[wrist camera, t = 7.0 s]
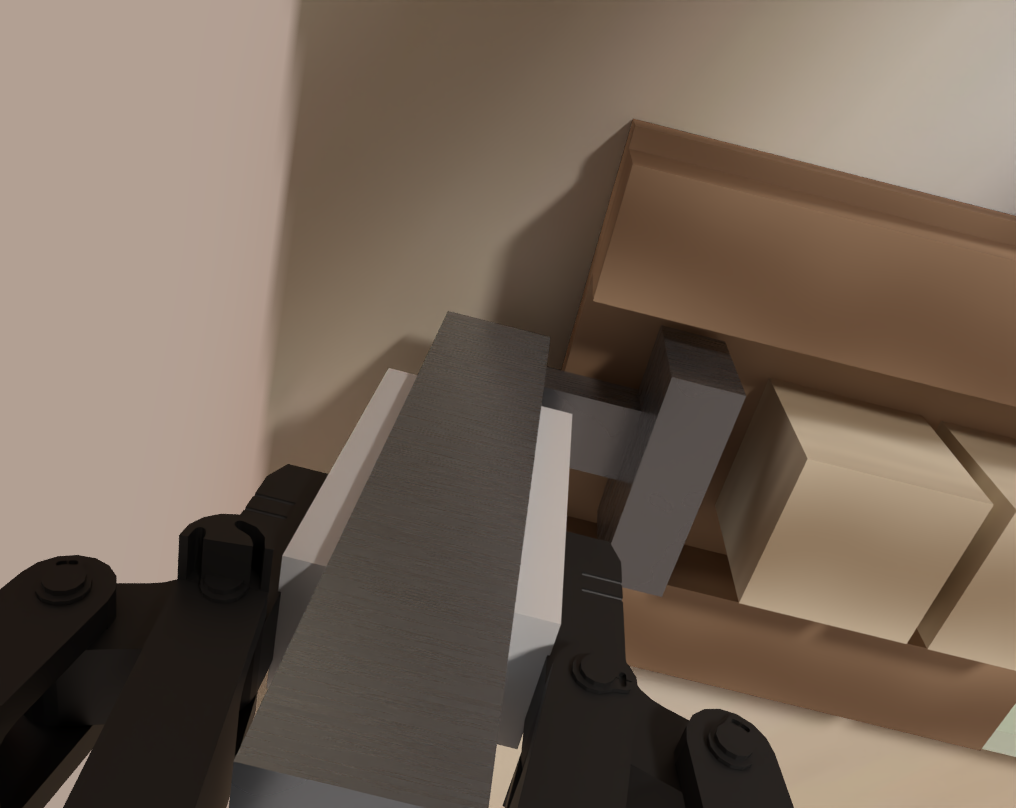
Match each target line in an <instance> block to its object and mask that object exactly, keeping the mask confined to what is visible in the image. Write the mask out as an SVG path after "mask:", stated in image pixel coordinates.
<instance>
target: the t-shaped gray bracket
mask: <svg viewBox="0 0 1016 808" xmlns="http://www.w3.org/2000/svg"><path fill="white" fill-rule="evenodd" d="M549 344H550V337H549V336H545V335H541V334H537V333H533V332H529V331H525V330H521V329H517V328H513V327H509V326H505V325H501V324H497V323H493V322H489V321H485V320H481V319H477V318H473V317H469V316H465V315H462V314H458V313H454V312H450V311H448V312H447V314H446V317H445V319H444V321H443V323H442V325H441V327H440V329H439V331H438V333H437V335H436V337H435V340H434V342H433V344H432V346H431V348H430V350H429V352H428V354H427V356H426V358H425V361H424V363H423V365H422V367H421V369H420V371H419V373H418V375H417V377H416V379H415V382H414V384H413V386H412V388H411V390H410V392H409V394H408V396H407V398H406V400H405V403H404V405H403V407H402V409H401V411H400V413H399V415H398V417H397V419H396V421H395V423H394V426H393V428H392V430H391V432H390V434H389V436H388V438H387V440H386V442H385V444H384V447H383V449H382V451H381V453H380V455H379V457H378V459H377V461H376V463H375V465H374V468H373V470H372V472H371V474H370V476H369V478H368V480H367V482H366V484H365V486H364V489H363V491H362V493H361V495H360V497H359V499H358V501H357V503H356V505H355V507H354V509H353V512H352V514H351V516H350V518H349V520H348V522H347V524H346V526H345V528H344V530H343V533H342V535H341V537H340V539H339V541H338V543H337V545H336V547H335V549H334V551H333V554H332V556H331V558H330V560H329V562H328V564H327V566H326V568H325V570H324V572H323V575H322V577H321V579H320V581H319V583H318V585H317V587H316V589H315V591H314V593H313V595H312V598H311V600H310V602H309V604H308V606H307V608H306V610H305V612H304V614H303V616H302V619H301V621H300V623H299V625H298V627H297V629H296V631H295V633H294V635H293V637H292V640H291V642H290V644H289V646H288V648H287V650H286V652H285V654H284V656H283V658H282V661H281V663H280V665H279V667H278V669H277V671H276V673H275V675H274V677H273V679H272V682H271V684H270V686H269V688H268V690H267V692H266V694H265V696H264V698H263V700H262V702H261V705H260V707H259V709H258V711H257V713H256V715H255V717H254V719H253V721H252V723H251V726H250V728H249V730H248V732H247V734H246V736H245V738H244V740H243V742H242V744H241V747H240V749H239V751H238V753H237V755H236V757H235V759H234V761H233V771H232V781H231V791H230V801H229V808H488V807H489V800H490V792H491V785H492V777H493V769H494V762H495V754H496V747H497V739H498V731H499V724H500V716H501V709H502V701H503V693H504V686H505V678H506V671H507V663H508V655H509V648H510V640H511V633H512V625H513V617H514V610H515V602H516V595H517V587H518V579H519V572H520V564H521V557H522V549H523V541H524V534H525V526H526V519H527V511H528V504H529V496H530V488H531V481H532V473H533V466H534V458H535V450H536V443H537V435H538V428H539V420H540V412H541V406H543V407H547V408H551V409H555V410H558V411H562V412H566V413H570V414H572V429H571V448H570V466H569V468H571V469H575V470H579V471H583V472H587V473H591V474H595V475H599V476H603V477H607V478H608V480H607V483H606V486H605V489H604V492H603V494H602V497H601V500H600V503H599V506H598V509H597V539H599V540H603V541H607V542H610V543H611V545H612V547H613V549H614V550H615V552H616V554H617V556H618V557H619V559H620V561H621V569H622V584H621V585H622V587H623V588H627V589H631V590H635V591H639V592H643V593H647V594H651V595H656V596H660V597H662V596H663V593H664V591H665V588H666V586H667V584H668V581H669V579H670V577H671V574H672V572H673V569H674V567H675V565H676V562H677V560H678V557H679V555H680V553H681V550H682V548H683V546H684V543H685V541H686V538H687V536H688V534H689V531H690V529H691V527H692V524H693V522H694V519H695V517H696V515H697V512H698V510H699V507H700V505H701V503H702V500H703V498H704V496H705V493H706V491H707V488H708V486H709V484H710V481H711V479H712V477H713V474H714V472H715V469H716V467H717V465H718V462H719V460H720V457H721V455H722V453H723V450H724V448H725V446H726V443H727V441H728V438H729V436H730V434H731V431H732V429H733V426H734V424H735V422H736V419H737V417H738V415H739V412H740V410H741V407H742V405H743V403H744V400H745V398H746V394H745V391H744V389H743V386H742V384H741V381H740V379H739V376H738V373H737V371H736V368H735V366H734V363H733V360H732V358H731V355H730V353H729V350H728V348H727V345H726V342H725V341H722V340H718V339H714V338H710V337H706V336H702V335H698V334H694V333H690V332H686V331H682V330H679V329H675V328H671V327H667V326H663V325H661V327H660V330H659V333H658V335H657V338H656V341H655V344H654V347H653V350H652V353H651V356H650V359H649V361H648V364H647V367H646V370H645V373H644V376H643V379H642V382H641V385H640V387H639V390H638V389H634V388H630V387H626V386H622V385H618V384H614V383H610V382H606V381H602V380H598V379H594V378H590V377H586V376H582V375H578V374H574V373H570V372H566V371H562V370H558V369H554V368H550V367H547V359H548V352H549Z"/></svg>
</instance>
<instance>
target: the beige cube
mask: <svg viewBox="0 0 1016 808" xmlns="http://www.w3.org/2000/svg"><path fill="white" fill-rule="evenodd" d="M715 507H716V511H717V515H718V519H719V523H720V528H721V532H722V536H723V540H724V544H725V548H726V552H727V556H728V560H729V564H730V568H731V572H732V577H733V581H734V585H735V589H736V593H737V597H738V601H739V603H741V604H745V605H749V606H753V607H757V608H761V609H765V610H769V611H773V612H777V613H781V614H786V615H790V616H794V617H798V618H802V619H806V620H810V621H814V622H818V623H822V624H826V625H831V626H835V627H839V628H843V629H847V630H851V631H855V632H859V633H863V634H867V635H871V636H876V637H880V638H884V639H888V640H892V641H896V642H900V643H904V644H907V643H908V641H909V639H910V638H911V636H912V635H913V633H914V631H915V630H916V628H917V627H918V625H919V623H920V622H921V620H922V619H923V617H924V615H925V614H926V612H927V611H928V609H929V607H930V606H931V604H932V603H933V601H934V599H935V598H936V596H937V595H938V593H939V591H940V590H941V588H942V587H943V585H944V583H945V582H946V580H947V579H948V577H949V576H950V574H951V572H952V571H953V569H954V568H955V566H956V564H957V563H958V561H959V560H960V558H961V556H962V555H963V553H964V552H965V550H966V548H967V547H968V545H969V544H970V542H971V540H972V539H973V537H974V536H975V534H976V532H977V531H978V529H979V528H980V526H981V524H982V523H983V521H984V520H985V518H986V517H987V515H988V513H989V512H990V510H991V509H992V507H993V503H992V502H991V501H990V500H989V498H988V497H987V496H986V495H985V493H984V492H983V491H982V490H981V488H980V487H979V486H978V485H977V483H976V482H975V481H974V480H973V478H972V477H971V476H970V475H969V473H968V472H967V471H966V470H965V468H964V467H963V466H962V465H961V463H960V462H959V461H958V460H957V459H956V457H955V456H954V455H953V454H952V452H951V451H950V450H949V449H948V447H947V446H946V445H945V444H944V442H943V441H942V440H941V439H940V437H939V436H938V435H937V434H936V432H935V431H934V430H933V429H932V427H931V426H930V425H929V424H928V422H927V421H926V420H925V419H924V417H923V416H921V415H917V414H913V413H909V412H905V411H901V410H897V409H893V408H889V407H885V406H881V405H877V404H873V403H869V402H865V401H861V400H857V399H853V398H849V397H845V396H841V395H837V394H833V393H829V392H825V391H821V390H817V389H813V388H809V387H804V386H800V385H796V384H792V383H788V382H784V381H780V380H776V379H772V378H769V380H768V382H767V384H766V387H765V389H764V391H763V394H762V396H761V398H760V401H759V403H758V405H757V408H756V410H755V412H754V415H753V417H752V419H751V422H750V424H749V427H748V429H747V431H746V434H745V436H744V438H743V441H742V443H741V445H740V448H739V450H738V452H737V455H736V457H735V459H734V462H733V464H732V467H731V469H730V471H729V474H728V476H727V478H726V481H725V483H724V485H723V488H722V490H721V492H720V495H719V497H718V499H717V502H716V504H715Z"/></svg>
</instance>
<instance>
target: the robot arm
mask: <svg viewBox="0 0 1016 808" xmlns="http://www.w3.org/2000/svg"><path fill="white" fill-rule="evenodd" d="M416 377H417V375H415V374H411V373H407V372H403V371H399V370H395V369H391V368H388V370H387V372H386V373H385V375H384V377H383V379H382V380H381V382H380V384H379V386H378V388H377V389H376V391H375V393H374V395H373V396H372V398H371V400H370V402H369V403H368V405H367V407H366V409H365V410H364V412H363V414H362V416H361V418H360V419H359V421H358V423H357V425H356V426H355V428H354V430H353V432H352V433H351V435H350V437H349V439H348V441H347V442H346V444H345V446H344V448H343V449H342V451H341V453H340V455H339V456H338V458H337V460H336V462H335V464H334V465H333V467H332V469H331V471H330V472H329V474H326V473H322V472H318V471H314V470H310V469H306V468H302V467H298V466H294V465H290V464H287V465H286V466H284V467H282V468H280V469H279V470H277V471H275V472H273V473H272V474H270V475H268V476H267V477H266V478H265V480H264V481H263V483H262V484H261V486H260V487H259V488H258V490H257V491H256V493H255V496H253V497H252V499H251V500H250V501H249V503H248V504H247V506H246V509H245V510H243V512H242V513H241V514H240V515H236V514H234V515H233V514H218V515H213V516H208V517H204V518H201V519H199V520H197V521H195V522H193V523H191V524H189V525H188V526H187V527H186V528H185V529H184V530H183V532H182V533H181V534H180V535H179V556H178V557H179V558H178V579H177V580H173V581H168V582H163V583H147V584H145V583H140V584H139V583H138V584H137V583H134V584H133V583H127V584H126V583H123V584H122V583H119V584H117V583H116V575H115V574H114V572H113V570H112V569H111V568H110V566H109V565H107V564H105V563H103V562H102V561H100V560H98V559H96V558H91V557H85V556H79V555H73V556H57V557H54V558H51V559H48V560H44V561H41V562H38V563H36V564H34V565H33V566H31V567H29V568H28V569H26V570H24V571H22V572H21V573H20V574H19V575H17V576H16V577H15V578H14V579H12V580H11V581H10V582H9V583H7V584H6V585H5V586H4V587H3V588H1V589H0V808H44V807H45V805H46V804H47V803H48V802H49V801H50V799H51V798H52V797H53V796H54V795H55V793H56V792H57V791H58V790H59V788H60V787H61V786H62V785H63V784H64V782H65V781H66V780H67V779H68V778H69V776H70V775H71V774H72V773H73V771H74V770H75V769H76V768H77V767H78V765H79V764H80V763H81V762H82V760H83V759H84V758H85V757H86V756H87V755H88V753H89V752H90V751H91V750H92V751H91V753H90V755H89V757H88V759H87V761H86V763H85V765H84V767H83V769H82V771H81V773H80V775H79V777H78V779H77V781H76V783H75V785H74V787H73V789H72V791H71V793H70V795H69V797H68V799H67V801H66V803H65V805H64V807H63V808H226V807H227V804H228V800H229V797H230V791H231V781H232V771H233V761H234V759H235V757H236V755H237V753H238V751H239V749H240V747H241V744H242V742H243V740H244V738H245V736H246V734H247V732H248V730H249V728H250V726H251V723H252V721H253V718H254V715H255V710H256V701H257V692H258V689H259V687H260V685H261V683H262V681H263V679H264V677H265V675H266V673H267V671H268V669H269V672H268V680H267V688H269V686H270V684H271V682H272V679H273V677H274V675H275V673H276V671H277V669H278V667H279V665H280V663H281V661H282V658H283V656H284V654H285V652H286V650H287V648H288V646H289V644H290V642H291V640H292V637H293V635H294V633H295V631H296V629H297V627H298V625H299V623H300V621H301V619H302V616H303V614H304V612H305V610H306V608H307V606H308V604H309V602H310V600H311V598H312V595H313V593H314V591H315V589H316V587H317V585H318V583H319V581H320V579H321V577H322V575H323V572H324V570H325V568H326V566H327V564H328V562H329V560H330V558H331V556H332V554H333V551H334V549H335V547H336V545H337V543H338V541H339V539H340V537H341V535H342V533H343V530H344V528H345V526H346V524H347V522H348V520H349V518H350V516H351V514H352V512H353V509H354V507H355V505H356V503H357V501H358V499H359V497H360V495H361V493H362V491H363V489H364V486H365V484H366V482H367V480H368V478H369V476H370V474H371V472H372V470H373V468H374V465H375V463H376V461H377V459H378V457H379V455H380V453H381V451H382V449H383V447H384V444H385V442H386V440H387V438H388V436H389V434H390V432H391V430H392V428H393V426H394V423H395V421H396V419H397V417H398V415H399V413H400V411H401V409H402V407H403V405H404V403H405V400H406V398H407V396H408V394H409V392H410V390H411V388H412V386H413V384H414V382H415V379H416ZM571 429H572V414H570V413H566V412H562V411H558V410H555V409H551V408H547V407H543V406H541V412H540V420H539V428H538V435H537V443H536V450H535V458H534V466H533V473H532V481H531V488H530V496H529V504H528V511H527V519H526V526H525V534H524V541H523V549H522V557H521V564H520V572H519V579H518V587H517V595H516V602H515V610H514V617H513V625H512V633H511V640H510V648H509V655H508V663H507V671H506V678H505V686H504V693H503V701H502V709H501V716H500V724H499V731H498V739H497V744H499V745H503V746H507V747H511V748H515V749H518V746H519V743H520V740H521V737H522V734H523V742H522V752H521V755H520V758H519V761H518V763H517V766H516V769H515V772H514V775H513V778H512V780H511V783H510V786H509V789H508V792H507V795H506V798H505V800H504V803H503V806H504V807H505V808H794V807H793V804H792V801H791V798H790V795H789V793H788V790H787V787H786V784H785V781H784V778H783V776H782V773H781V770H780V767H779V764H778V761H777V759H776V756H775V753H774V751H773V750H772V748H771V746H770V744H769V742H768V741H767V739H766V737H765V736H764V735H763V734H762V733H761V732H760V731H759V730H758V729H757V728H756V727H755V726H754V725H753V724H751V723H750V722H748V721H747V720H745V719H743V718H742V717H740V716H738V715H737V714H734V713H731V712H728V711H724V710H721V709H704V710H702V711H700V712H698V713H696V714H694V715H692V717H691V719H690V721H689V720H687V719H685V718H683V717H681V716H679V715H678V714H676V713H674V712H672V711H670V710H668V709H666V708H664V707H663V706H661V705H660V704H658V703H656V702H655V701H653V700H652V699H650V698H649V697H648V696H647V695H646V694H645V693H644V692H643V691H642V690H641V689H640V688H639V687H638V686H637V679H636V676H635V675H634V673H633V671H632V670H631V668H630V666H629V665H628V664H627V663H626V653H625V632H624V611H623V602H622V599H623V590H622V585H621V584H622V569H621V561H620V559H619V557H618V556H617V554H616V552H615V550H614V549H613V547H612V545H611V543H610V542H607V541H603V540H599V539H595V538H591V537H587V536H583V535H579V534H575V533H571V532H567V531H566V521H567V503H568V485H569V466H570V448H571Z"/></svg>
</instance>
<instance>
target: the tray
mask: <svg viewBox="0 0 1016 808" xmlns="http://www.w3.org/2000/svg"><path fill="white" fill-rule="evenodd" d="M982 749H985V750H989V751H993V752H997V753H1001V754H1005V755H1009V756H1013V757H1016V704H1015V705H1014V706H1013V708H1012V709H1011V710H1010V712H1009V713H1008V714H1007V716H1006V717H1005V718H1004V720H1003V721H1002V722H1001V724H1000V725H999V726H998V728H997V729H996V730H995V732H994V733H993V734H992V736H991V737H990V738H989V740H988V741H987V742H986V744H985V745H984V746H983V748H982Z"/></svg>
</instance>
